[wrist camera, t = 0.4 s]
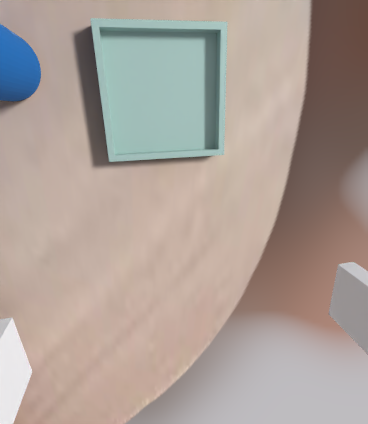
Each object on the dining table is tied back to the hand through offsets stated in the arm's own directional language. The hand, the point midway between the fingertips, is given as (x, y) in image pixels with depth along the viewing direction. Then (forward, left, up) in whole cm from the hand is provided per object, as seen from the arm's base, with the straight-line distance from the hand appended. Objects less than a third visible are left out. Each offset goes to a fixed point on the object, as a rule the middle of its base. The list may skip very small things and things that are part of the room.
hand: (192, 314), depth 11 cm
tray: (-9, +2, -26) cm, 27 cm away
